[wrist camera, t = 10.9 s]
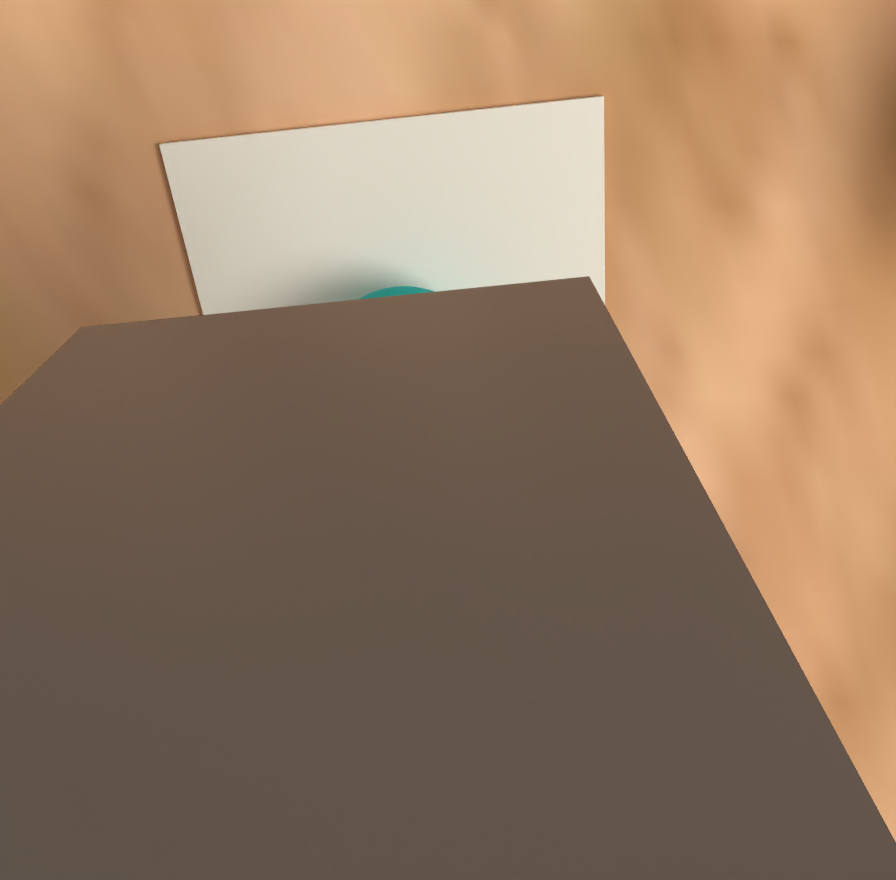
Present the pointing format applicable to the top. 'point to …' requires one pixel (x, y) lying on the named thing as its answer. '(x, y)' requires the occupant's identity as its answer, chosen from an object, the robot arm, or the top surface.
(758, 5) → the top surface
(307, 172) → the white square plate
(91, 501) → the grey rectangular block
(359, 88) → the top surface
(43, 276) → the top surface
